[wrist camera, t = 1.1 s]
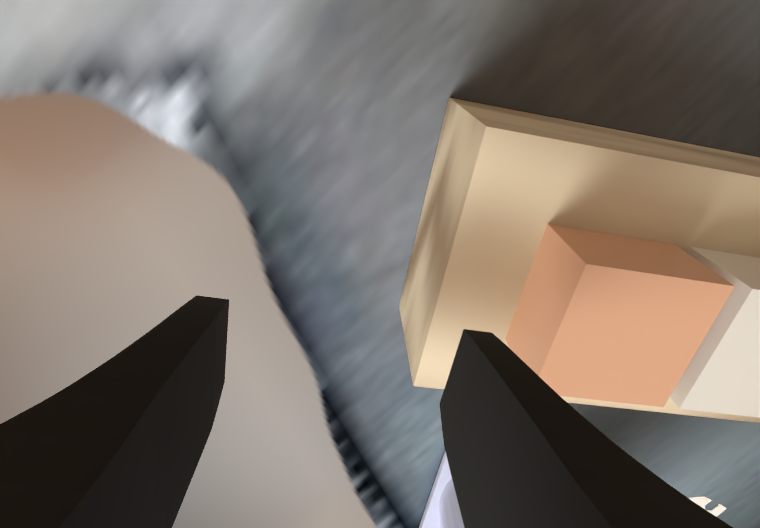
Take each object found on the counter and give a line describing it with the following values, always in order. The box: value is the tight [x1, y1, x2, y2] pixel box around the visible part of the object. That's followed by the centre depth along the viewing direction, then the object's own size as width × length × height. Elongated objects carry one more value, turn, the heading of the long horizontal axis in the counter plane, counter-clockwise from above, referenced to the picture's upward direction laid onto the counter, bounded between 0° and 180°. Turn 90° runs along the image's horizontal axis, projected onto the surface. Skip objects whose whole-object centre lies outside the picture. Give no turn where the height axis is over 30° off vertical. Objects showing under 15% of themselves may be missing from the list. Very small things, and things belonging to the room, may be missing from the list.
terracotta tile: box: [505, 224, 735, 407], centre depth 14 cm, size 4×4×2 cm
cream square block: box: [670, 247, 760, 418], centre depth 14 cm, size 4×4×2 cm
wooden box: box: [399, 97, 760, 423], centre depth 17 cm, size 9×14×5 cm, turn 79°
